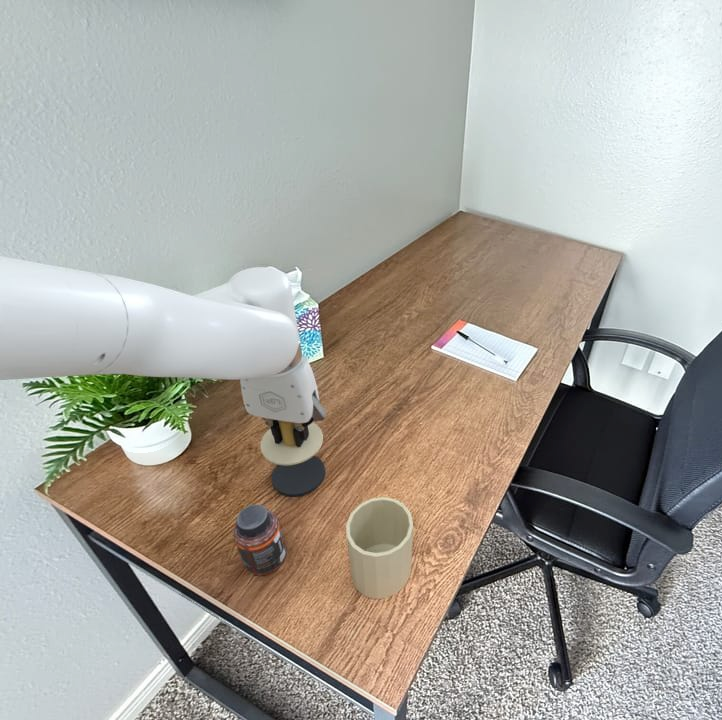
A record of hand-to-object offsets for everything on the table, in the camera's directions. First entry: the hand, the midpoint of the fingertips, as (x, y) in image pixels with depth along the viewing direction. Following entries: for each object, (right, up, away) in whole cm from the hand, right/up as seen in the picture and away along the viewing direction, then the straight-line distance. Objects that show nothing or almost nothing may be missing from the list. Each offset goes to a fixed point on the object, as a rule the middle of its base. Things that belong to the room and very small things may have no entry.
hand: (291, 438), depth 77 cm
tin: (+16, -19, -5) cm, 26 cm away
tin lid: (0, -1, +1) cm, 1 cm away
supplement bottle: (-1, -18, -6) cm, 19 cm away
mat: (-1, -8, +6) cm, 10 cm away
